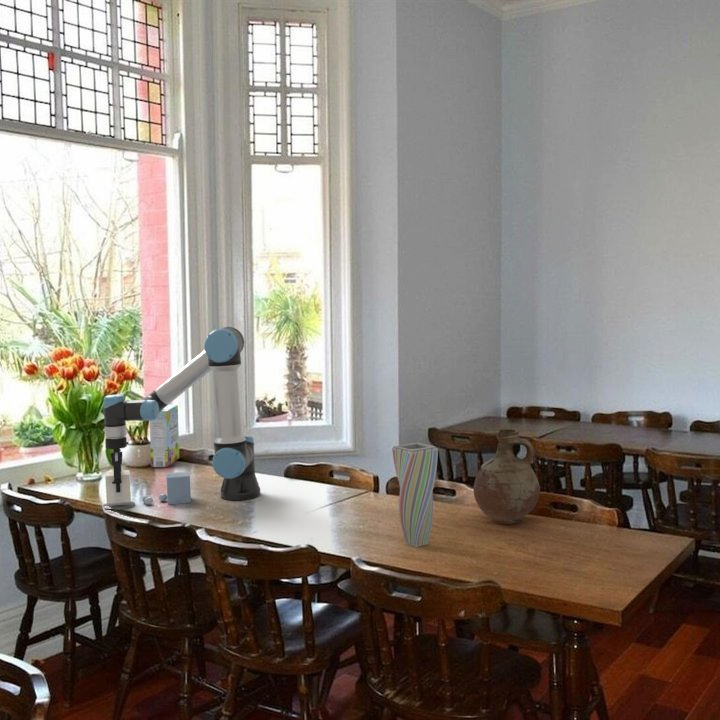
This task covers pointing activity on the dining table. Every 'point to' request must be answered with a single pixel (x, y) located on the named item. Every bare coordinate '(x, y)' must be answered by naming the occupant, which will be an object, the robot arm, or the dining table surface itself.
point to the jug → (507, 481)
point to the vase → (416, 489)
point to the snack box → (165, 437)
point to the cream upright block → (125, 487)
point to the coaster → (121, 505)
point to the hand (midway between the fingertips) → (119, 497)
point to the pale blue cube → (178, 487)
